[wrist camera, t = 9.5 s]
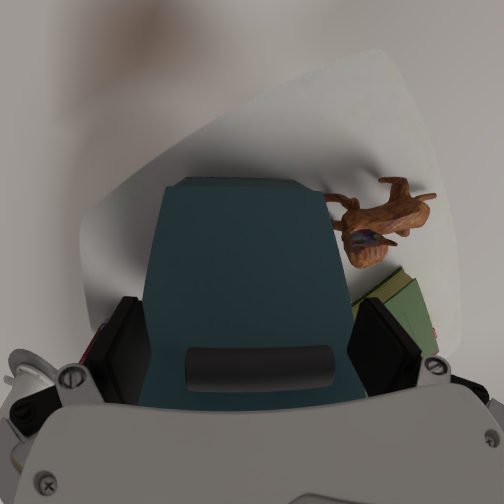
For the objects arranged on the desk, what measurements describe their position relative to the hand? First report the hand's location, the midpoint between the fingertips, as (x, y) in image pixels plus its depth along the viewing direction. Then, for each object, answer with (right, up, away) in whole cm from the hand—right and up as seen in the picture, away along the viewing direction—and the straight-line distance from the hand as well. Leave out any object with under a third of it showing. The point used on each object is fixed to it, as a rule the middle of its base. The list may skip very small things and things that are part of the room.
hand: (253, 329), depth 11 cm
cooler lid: (0, +1, +4) cm, 5 cm away
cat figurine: (+15, +9, +19) cm, 26 cm away
